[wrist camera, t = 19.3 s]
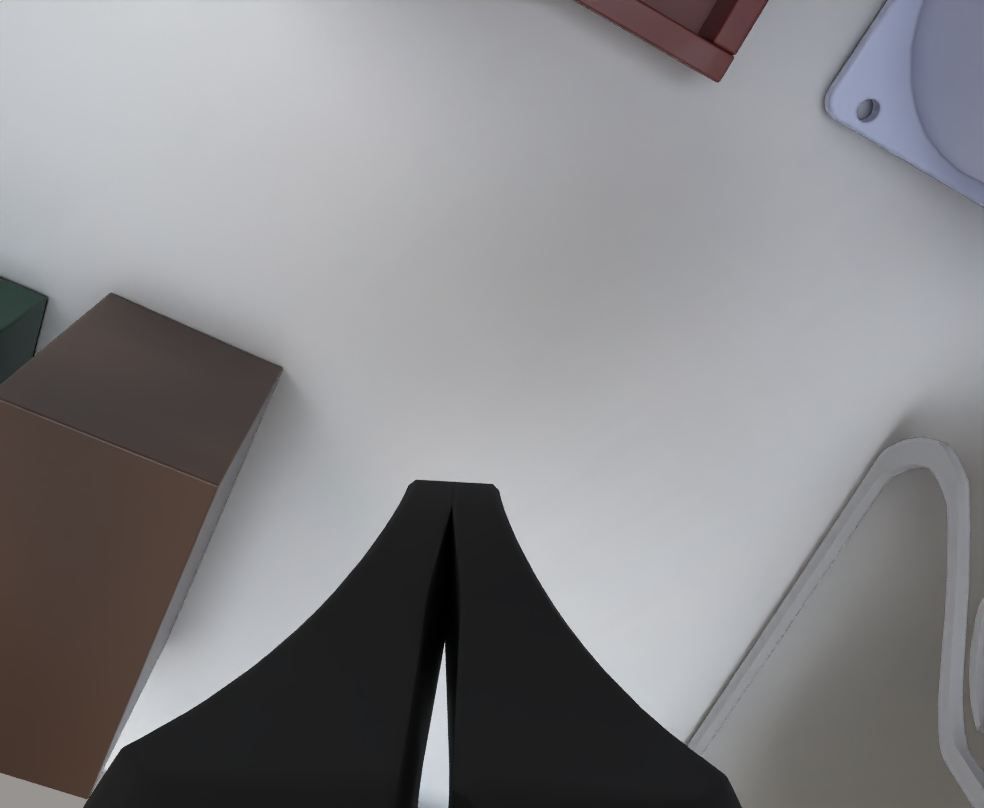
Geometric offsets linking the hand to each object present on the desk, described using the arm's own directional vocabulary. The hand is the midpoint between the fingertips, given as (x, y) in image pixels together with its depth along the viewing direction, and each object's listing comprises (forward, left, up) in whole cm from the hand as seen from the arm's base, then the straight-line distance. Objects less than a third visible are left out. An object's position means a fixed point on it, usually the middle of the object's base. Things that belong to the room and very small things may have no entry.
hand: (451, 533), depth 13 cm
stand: (+6, +10, -10) cm, 16 cm away
